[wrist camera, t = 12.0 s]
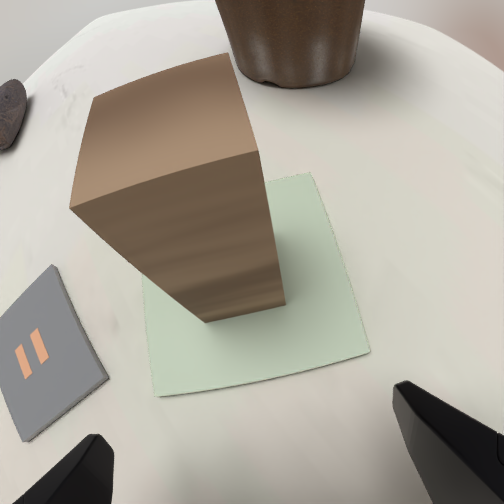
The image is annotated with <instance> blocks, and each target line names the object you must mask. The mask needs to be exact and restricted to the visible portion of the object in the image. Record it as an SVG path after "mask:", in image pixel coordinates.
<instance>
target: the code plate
mask: <svg viewBox="0 0 504 504" xmlns="http://www.w3.org/2000/svg"><path fill="white" fill-rule="evenodd" d="M108 378H109V377H108V375H107V373H106V372H105V370H104V368H103V366H102V364H101V363H100V361H99V359H98V357H97V355H96V353H95V351H94V349H93V348H92V346H91V344H90V342H89V340H88V338H87V336H86V334H85V332H84V330H83V327H82V325H81V323H80V321H79V319H78V317H77V315H76V313H75V310H74V308H73V306H72V304H71V301H70V299H69V297H68V294H67V292H66V290H65V287H64V285H63V282H62V280H61V277H60V275H59V272H58V270H57V267H56V266H54V265H53V264H51V265H50V266H49V267H48V268H47V269H46V270H45V271H44V272H43V273H42V274H41V275H40V276H39V277H38V278H37V279H36V280H35V281H34V282H33V283H32V284H31V285H30V286H29V287H28V288H27V289H26V290H25V291H24V292H23V294H22V295H21V296H20V297H19V298H18V299H17V300H16V301H15V302H14V303H13V304H12V305H11V306H10V307H9V309H8V310H7V311H6V312H5V313H4V314H3V315H2V316H1V317H0V388H1V391H2V393H3V396H4V399H5V402H6V404H7V407H8V409H9V412H10V414H11V417H12V419H13V422H14V424H15V426H16V429H17V431H18V433H19V435H20V438H21V440H22V442H29V441H30V440H31V439H33V438H34V437H35V436H36V435H38V434H39V433H40V432H41V431H43V430H44V429H45V428H46V427H48V426H49V425H50V424H52V423H53V422H54V421H55V420H57V419H58V418H59V417H60V416H62V415H63V414H64V413H65V412H67V411H68V410H69V409H71V408H72V407H73V406H74V405H76V404H77V403H78V402H79V401H81V400H82V399H83V398H84V397H86V396H87V395H88V394H89V393H91V392H92V391H93V390H94V389H96V388H97V387H98V386H99V385H101V384H102V383H103V382H104V381H106V380H107V379H108Z"/></svg>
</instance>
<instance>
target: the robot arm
mask: <svg viewBox="0 0 504 504" xmlns="http://www.w3.org/2000/svg"><path fill="white" fill-rule="evenodd" d="M393 409H394V412H395V415H396V418H397V420H398V423H399V426H400V429H401V432H402V435H403V438H404V441H405V444H406V446H407V449H408V452H409V454H410V456H411V458H412V460H413V462H414V464H415V466H416V469H417V471H418V473H419V475H420V477H421V479H422V481H423V483H424V485H425V487H426V489H427V492H428V494H429V496H430V498H431V500H432V502H433V504H504V435H502V434H500V433H497V432H496V431H495V430H493V429H491V428H489V427H488V426H486V425H484V424H482V423H481V422H479V421H477V420H475V419H474V418H472V417H470V416H468V415H466V414H465V413H463V412H461V411H460V410H458V409H456V408H454V407H453V406H451V405H449V404H447V403H446V402H444V401H442V400H441V399H439V398H437V397H435V396H434V395H432V394H430V393H429V392H427V391H425V390H424V389H422V388H420V387H418V386H417V385H415V384H413V383H412V382H410V381H407V380H406V381H403V382H400V383H397V384H395V385H394V388H393ZM113 471H114V451H113V449H112V448H111V446H110V445H109V444H108V443H107V442H106V440H105V439H104V438H103V437H102V436H101V435H100V434H89V435H87V436H86V437H85V438H84V439H83V440H82V441H81V442H80V443H79V444H78V445H77V446H76V447H74V448H73V449H72V450H71V451H70V452H69V453H68V454H67V455H66V456H65V457H64V458H63V459H61V460H60V461H59V462H58V463H57V464H56V465H55V466H54V467H53V468H52V469H51V470H50V471H48V472H47V473H46V474H45V475H44V476H43V477H42V478H41V479H40V480H39V481H37V482H36V483H35V484H34V485H33V486H32V487H31V488H30V489H29V490H28V491H26V492H25V494H23V495H22V496H21V497H20V498H19V499H17V500H16V501H15V502H14V503H13V504H111V502H112V493H113Z"/></svg>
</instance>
